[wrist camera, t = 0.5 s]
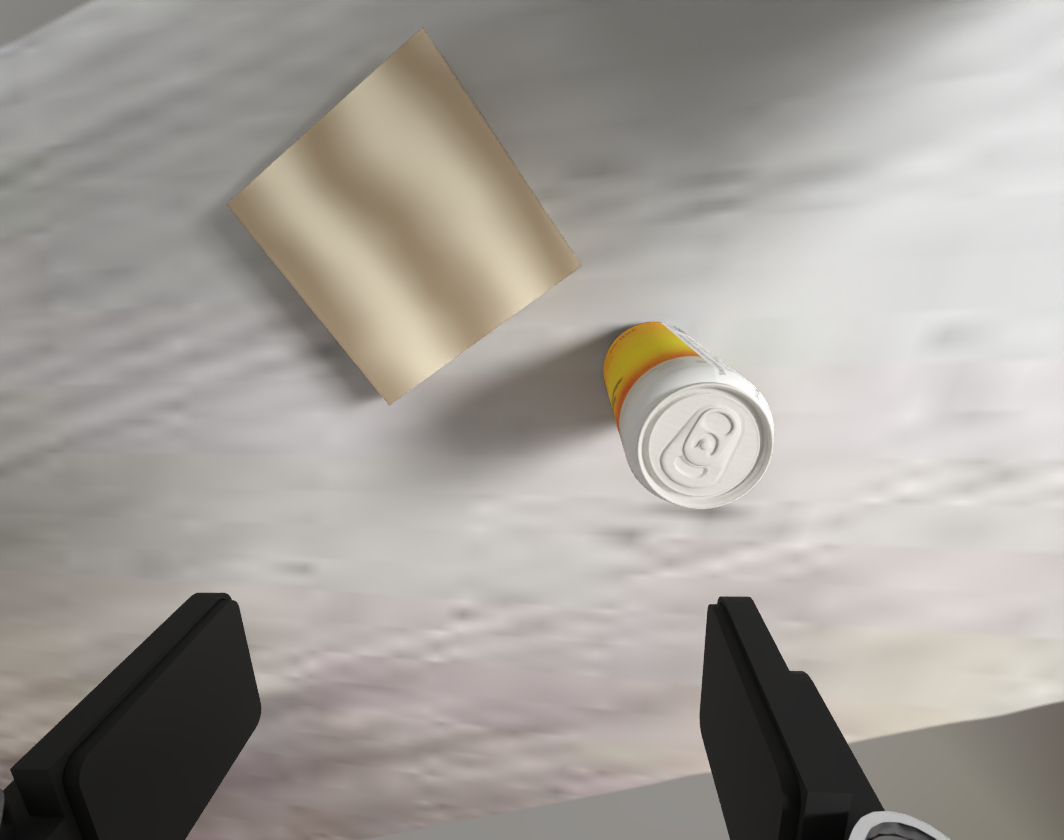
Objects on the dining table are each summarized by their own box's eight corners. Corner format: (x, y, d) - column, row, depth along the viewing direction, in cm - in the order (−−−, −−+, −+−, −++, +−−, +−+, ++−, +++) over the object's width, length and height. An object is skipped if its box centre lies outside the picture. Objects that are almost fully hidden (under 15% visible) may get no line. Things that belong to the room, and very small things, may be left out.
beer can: (586, 387, 37) (599, 479, 23) (631, 303, 35) (677, 345, 21) (666, 427, 38) (729, 541, 23) (715, 346, 36) (816, 416, 22)
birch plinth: (439, 52, 32) (422, 27, 28) (579, 262, 35) (581, 265, 31) (263, 208, 35) (226, 204, 31) (406, 388, 38) (389, 405, 34)
